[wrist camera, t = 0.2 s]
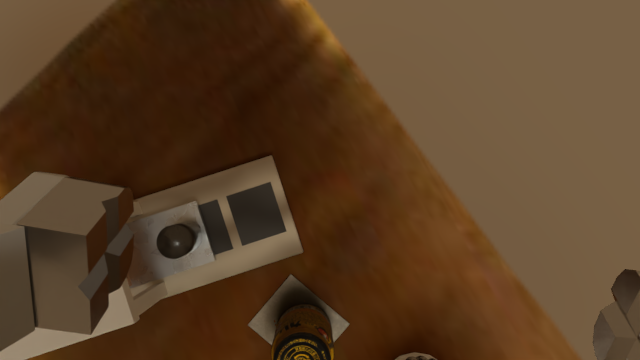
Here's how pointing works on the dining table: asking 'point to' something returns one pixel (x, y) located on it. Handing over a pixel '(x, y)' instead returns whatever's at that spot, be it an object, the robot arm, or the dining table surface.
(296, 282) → the condiment
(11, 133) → the dining table surface
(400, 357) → the round tower model
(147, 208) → the track
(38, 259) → the robot arm
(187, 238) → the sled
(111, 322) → the tunnel
